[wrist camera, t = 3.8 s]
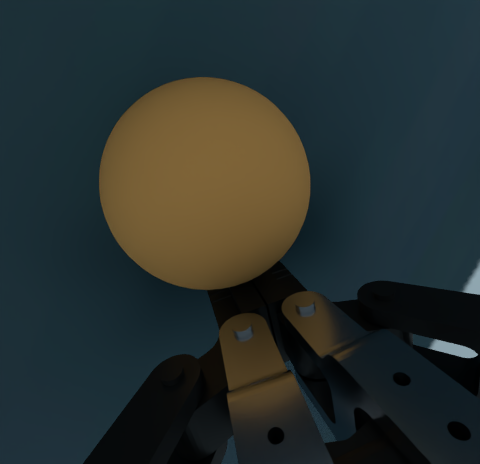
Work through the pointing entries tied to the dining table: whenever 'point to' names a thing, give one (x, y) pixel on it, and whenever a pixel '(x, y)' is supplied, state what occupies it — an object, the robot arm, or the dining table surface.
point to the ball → (204, 183)
